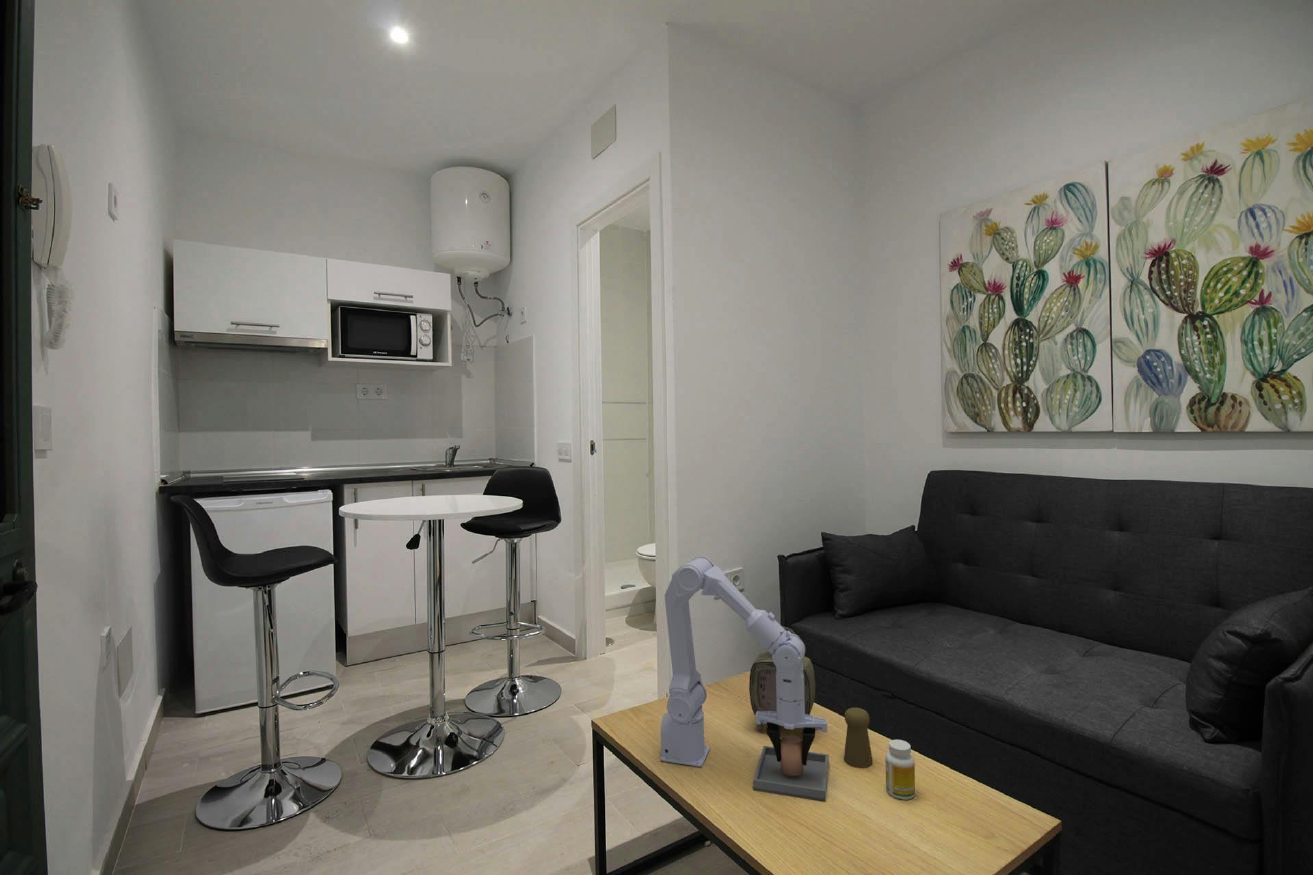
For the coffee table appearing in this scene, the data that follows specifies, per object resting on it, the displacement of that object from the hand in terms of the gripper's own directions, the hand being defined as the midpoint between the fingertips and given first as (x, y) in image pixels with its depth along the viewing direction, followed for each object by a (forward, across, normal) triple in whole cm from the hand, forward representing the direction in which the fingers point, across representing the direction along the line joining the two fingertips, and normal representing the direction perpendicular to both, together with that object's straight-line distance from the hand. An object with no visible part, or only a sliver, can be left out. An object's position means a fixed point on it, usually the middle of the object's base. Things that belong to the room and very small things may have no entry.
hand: (792, 760), depth 127 cm
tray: (+3, 0, 0) cm, 3 cm away
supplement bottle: (+3, +21, 0) cm, 21 cm away
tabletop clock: (+3, -4, +20) cm, 21 cm away
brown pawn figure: (+3, +13, +10) cm, 17 cm away
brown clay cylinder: (+2, 0, 0) cm, 2 cm away
